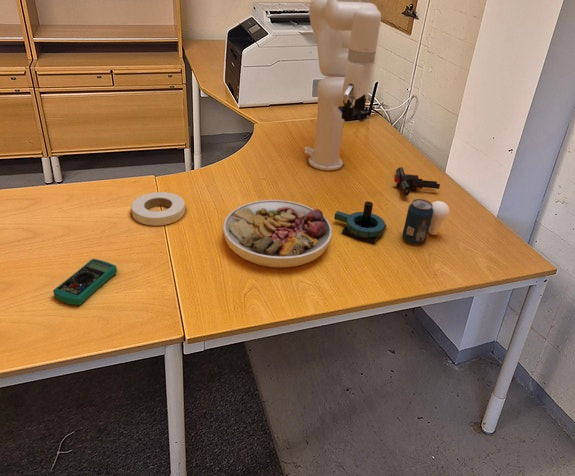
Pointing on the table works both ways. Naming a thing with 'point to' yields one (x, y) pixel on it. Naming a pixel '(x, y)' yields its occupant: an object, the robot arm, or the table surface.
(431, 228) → the lightbulb
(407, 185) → the black plastic t-shaped piece
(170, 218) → the tape roll
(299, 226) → the bowl
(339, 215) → the ring
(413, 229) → the soda can
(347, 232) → the ring stand
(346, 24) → the robot arm
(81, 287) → the digital multimeter
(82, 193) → the table surface
